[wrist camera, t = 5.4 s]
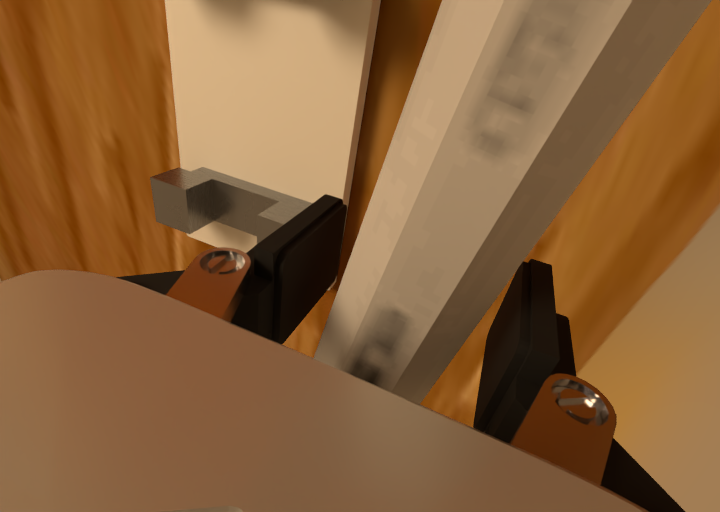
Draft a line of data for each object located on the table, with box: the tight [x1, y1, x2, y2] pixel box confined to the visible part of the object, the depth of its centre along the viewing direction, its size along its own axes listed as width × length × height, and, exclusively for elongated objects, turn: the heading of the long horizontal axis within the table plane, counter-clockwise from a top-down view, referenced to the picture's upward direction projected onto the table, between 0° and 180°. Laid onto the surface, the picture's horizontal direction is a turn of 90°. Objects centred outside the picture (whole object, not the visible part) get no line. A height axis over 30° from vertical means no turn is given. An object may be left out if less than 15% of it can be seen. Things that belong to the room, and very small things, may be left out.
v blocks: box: [150, 167, 312, 244], centre depth 27 cm, size 22×14×4 cm, turn 170°
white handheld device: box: [314, 0, 712, 404], centre depth 11 cm, size 5×7×25 cm
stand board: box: [165, 0, 381, 290], centre depth 29 cm, size 30×16×2 cm, turn 170°
